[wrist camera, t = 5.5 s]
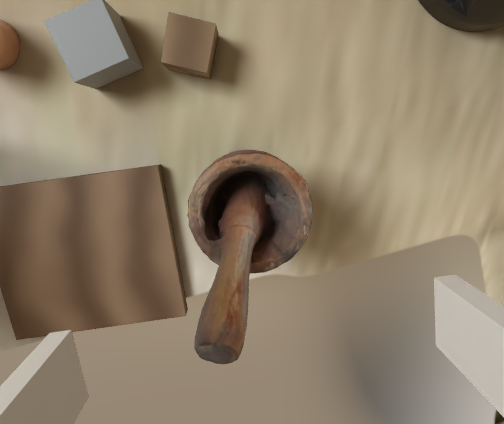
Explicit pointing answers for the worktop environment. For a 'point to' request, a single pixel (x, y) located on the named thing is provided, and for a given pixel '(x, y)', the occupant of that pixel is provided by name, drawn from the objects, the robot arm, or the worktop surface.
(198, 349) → the mortar and pestle
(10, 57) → the terracotta capsule
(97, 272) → the walnut board
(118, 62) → the slate grey cube
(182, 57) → the dark oak block
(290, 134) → the worktop surface
